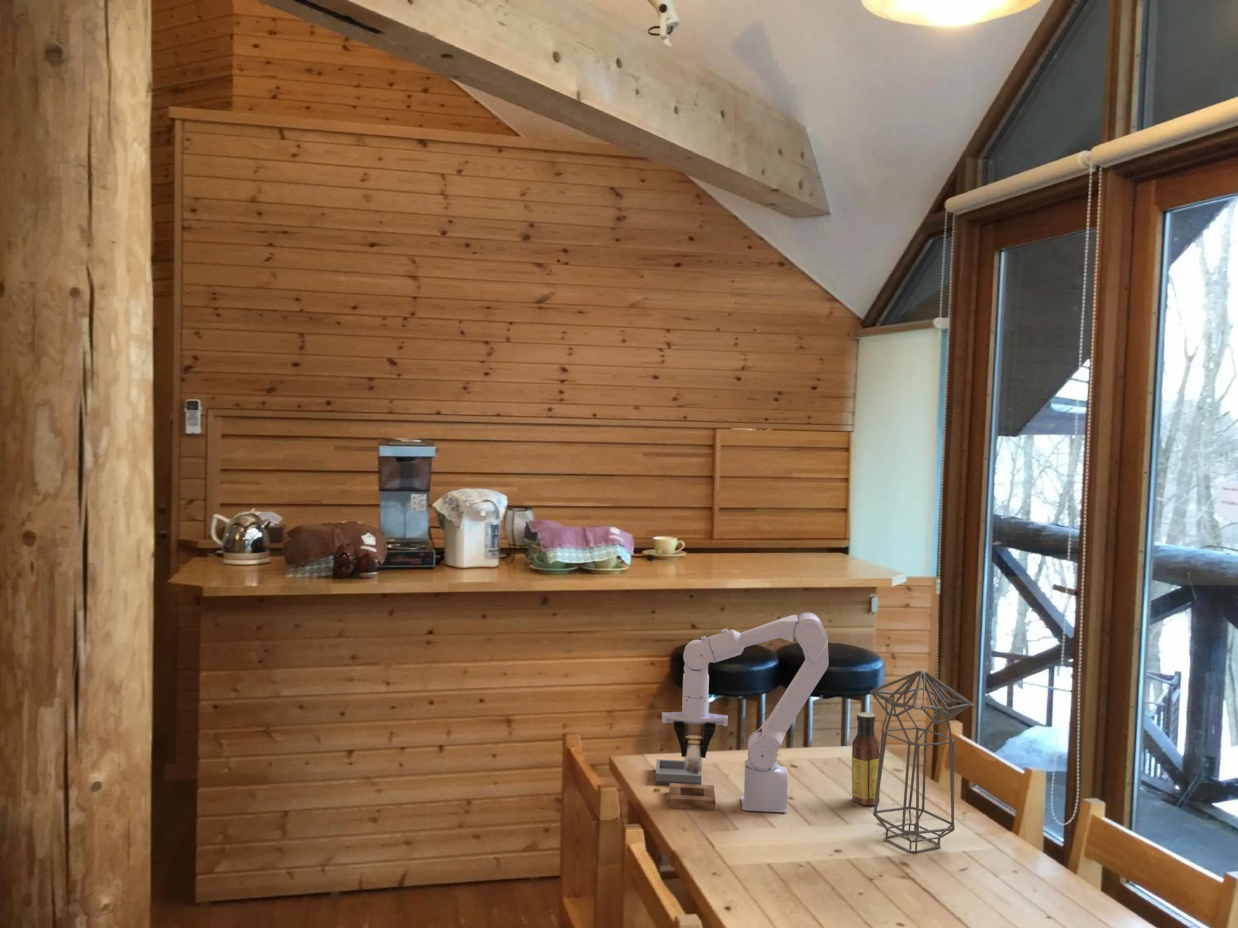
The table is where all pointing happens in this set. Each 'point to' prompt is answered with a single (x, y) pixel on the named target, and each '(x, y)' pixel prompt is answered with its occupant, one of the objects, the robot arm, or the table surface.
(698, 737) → the gold and silver cylinder
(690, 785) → the block
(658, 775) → the tray
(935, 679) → the geometric lantern
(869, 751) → the sauce bottle
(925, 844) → the table surface
